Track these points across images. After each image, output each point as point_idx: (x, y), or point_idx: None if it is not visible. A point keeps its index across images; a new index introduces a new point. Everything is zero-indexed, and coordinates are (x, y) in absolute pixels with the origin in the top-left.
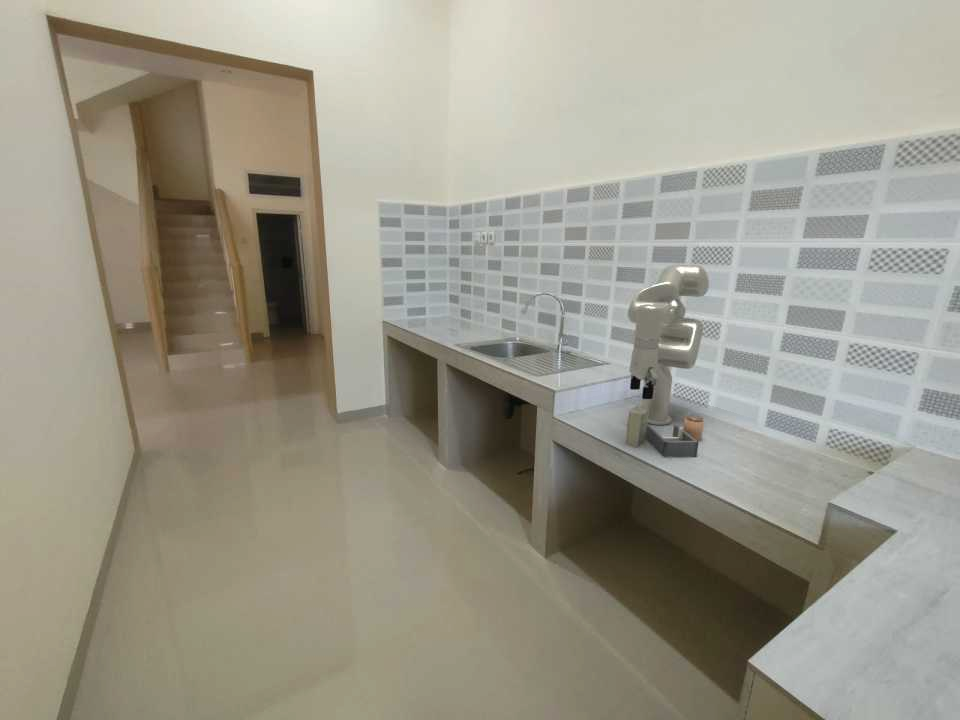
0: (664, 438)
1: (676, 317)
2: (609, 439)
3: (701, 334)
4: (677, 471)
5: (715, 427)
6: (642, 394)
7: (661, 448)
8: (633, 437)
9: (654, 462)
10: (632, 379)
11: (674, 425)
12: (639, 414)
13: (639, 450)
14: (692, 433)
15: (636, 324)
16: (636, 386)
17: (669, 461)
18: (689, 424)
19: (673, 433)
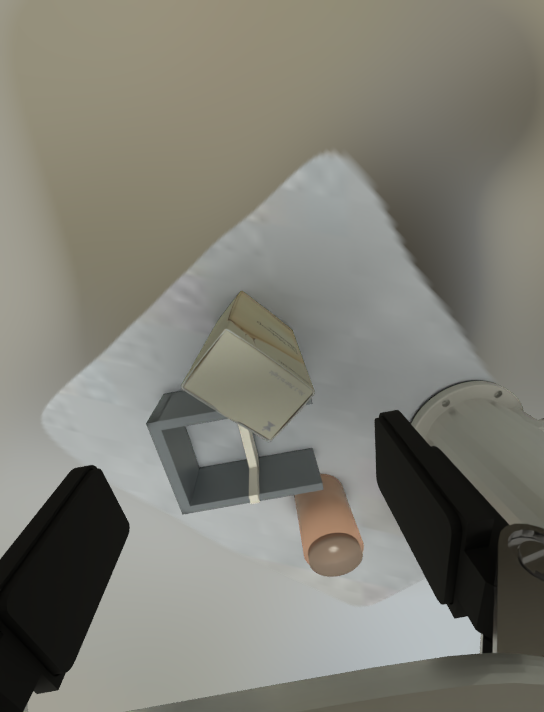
0: (239, 427)
1: None
2: (272, 231)
3: None
4: (74, 408)
5: (389, 554)
6: (65, 496)
7: (177, 401)
8: (219, 321)
9: (112, 358)
10: (445, 517)
11: (319, 481)
12: (184, 380)
13: (194, 330)
14: (299, 507)
15: None
16: (390, 481)
17: (136, 403)
18: (311, 525)
19: (312, 460)
